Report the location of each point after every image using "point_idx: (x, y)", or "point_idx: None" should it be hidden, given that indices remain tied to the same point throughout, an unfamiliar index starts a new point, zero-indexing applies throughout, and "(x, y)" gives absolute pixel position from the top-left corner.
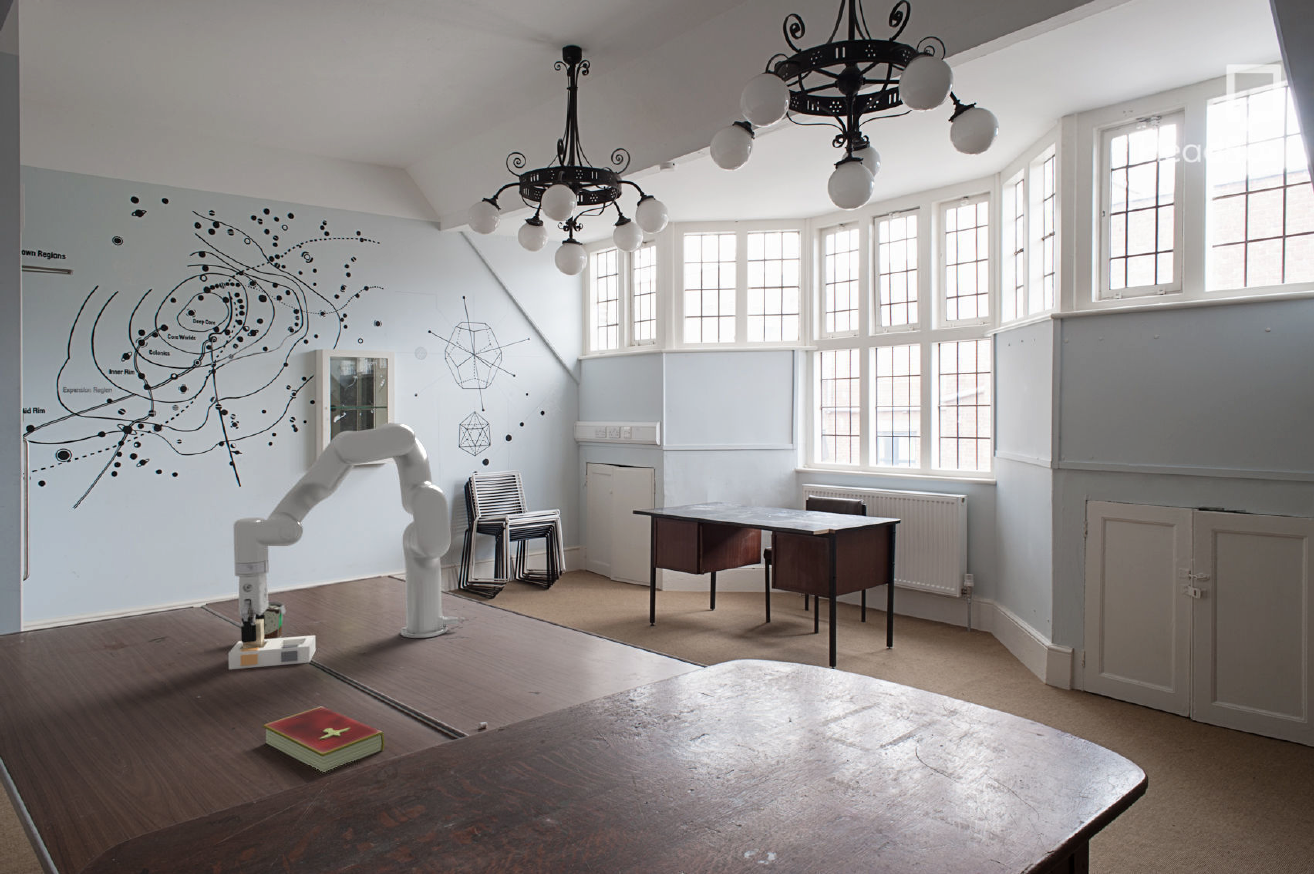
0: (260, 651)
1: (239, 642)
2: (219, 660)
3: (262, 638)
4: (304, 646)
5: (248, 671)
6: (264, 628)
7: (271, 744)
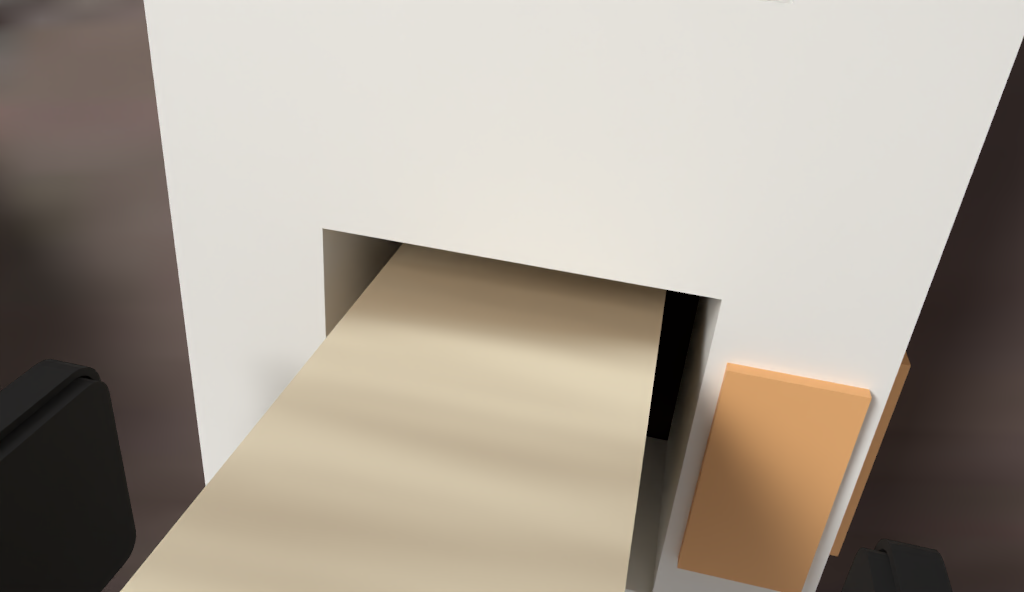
0: (904, 333)
1: None
2: None
3: (492, 369)
4: None
5: (1011, 360)
6: (71, 380)
7: None
